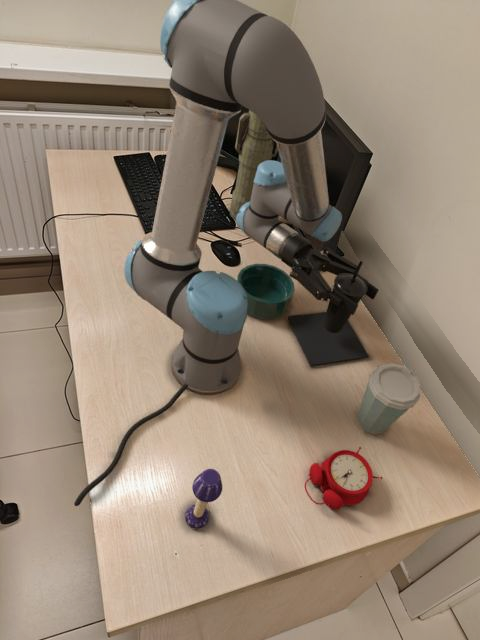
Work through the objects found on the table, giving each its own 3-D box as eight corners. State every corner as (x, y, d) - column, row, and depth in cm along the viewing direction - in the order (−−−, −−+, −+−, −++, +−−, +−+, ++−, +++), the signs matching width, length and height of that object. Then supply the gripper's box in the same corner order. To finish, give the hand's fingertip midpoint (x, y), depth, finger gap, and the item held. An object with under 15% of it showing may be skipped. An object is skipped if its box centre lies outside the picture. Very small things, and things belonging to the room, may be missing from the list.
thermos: (221, 206, 144) (239, 87, 118) (257, 206, 148) (282, 91, 122) (228, 223, 139) (248, 103, 113) (265, 223, 143) (293, 107, 117)
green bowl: (286, 326, 116) (292, 309, 111) (228, 312, 115) (232, 294, 111) (291, 288, 126) (297, 271, 121) (238, 275, 125) (242, 258, 120)
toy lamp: (211, 504, 83) (224, 461, 71) (213, 530, 80) (227, 491, 68) (184, 505, 82) (192, 463, 69) (185, 532, 79) (194, 492, 66)
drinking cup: (348, 339, 111) (380, 277, 96) (318, 334, 110) (345, 270, 95) (346, 317, 116) (376, 254, 101) (316, 312, 115) (342, 247, 100)
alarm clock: (390, 482, 89) (337, 507, 80) (373, 497, 93) (320, 524, 84) (358, 438, 94) (305, 457, 85) (343, 454, 98) (290, 475, 89)
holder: (367, 358, 114) (369, 356, 114) (310, 367, 109) (311, 365, 108) (341, 312, 123) (342, 310, 123) (286, 318, 118) (287, 316, 117)
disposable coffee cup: (368, 450, 97) (398, 411, 86) (337, 410, 102) (361, 369, 91) (402, 430, 102) (434, 391, 91) (371, 394, 107) (398, 353, 96)
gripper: (311, 245, 119) (383, 295, 111) (257, 275, 107) (333, 334, 99) (320, 220, 113) (396, 272, 105) (264, 249, 101) (345, 310, 94)
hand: (365, 302), depth 102 cm, fingers closed on drinking cup, 8 cm apart
